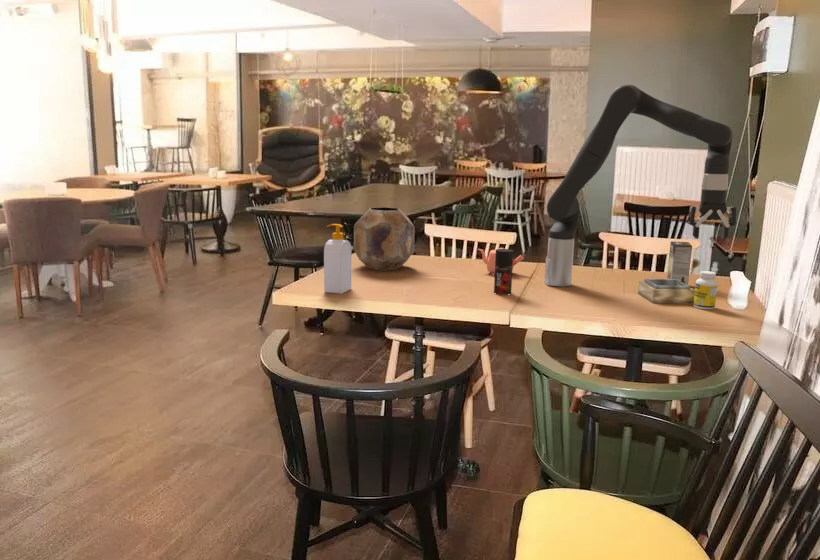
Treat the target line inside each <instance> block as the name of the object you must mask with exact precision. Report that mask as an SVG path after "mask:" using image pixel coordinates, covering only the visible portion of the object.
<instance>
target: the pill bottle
mask: <svg viewBox="0 0 820 560" xmlns="http://www.w3.org/2000/svg"><path fill="white" fill-rule="evenodd" d="M716 275H717V272H715V271H711V270H710V271H709V270H701V271H700V272H699V278H698V279H696V281H695V285H694V286H695V287H694V290H695V294H694V304H693V307H695V308H697V309H699V310H700V309H701V310H713V309H715V307H716V301H717V293H718V287H719V286H718V284H719V283H718V281H717V280H716V279H715V278H716Z"/></svg>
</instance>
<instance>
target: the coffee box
mask: <svg viewBox="0 0 820 560" xmlns="http://www.w3.org/2000/svg"><path fill="white" fill-rule="evenodd" d="M669 244H670V246H669V255H668V265H667V277H666V279H677V280H679V281H681V282H683V283H685V284H687V285H689V278H690V270H691V263H692V262H691V259H692V251H693V245H692V244H691V243H690V242H689V241H670V243H669Z"/></svg>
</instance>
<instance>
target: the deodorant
mask: <svg viewBox="0 0 820 560" xmlns="http://www.w3.org/2000/svg"><path fill="white" fill-rule="evenodd" d="M495 250H496V257H495V275H494V283H493V285H494V286H493V294H494V293H496V294H495V295H497V294H500V295H499V296H509V295H508V294H510V295H511V294H512V288H513V287H512V285H513V270H512V267H513V261H514V250H513V249H510V248H509V249H508V248H504V249H498V248H497V249H495ZM513 268H514V267H513Z"/></svg>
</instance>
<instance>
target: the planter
mask: <svg viewBox="0 0 820 560" xmlns="http://www.w3.org/2000/svg"><path fill="white" fill-rule="evenodd" d="M353 251H354V253H355V256H356V257H357V258H358V260H359V261H360V262H361V263H362V264H363V265H365V267H366V268H367V269H369V270H375V271H383V272H384V271H385V272H386V271H393V270H395V271H396V270H399V268H401V267H402V266H403V265H404V264H406V263H407V261H408V260H410V257H411V256H412V255H413V254H414V253H415V225H414V224H413V222H412V221H411V220H410V218H409V217H408V216H407V215H406V214H405V213H404V212H403V211H402V210H401V209H400V208H397V207H386V206H385V207H370V208H368V210H367V211H366V212H365V213H364V214H363V215H362V216H361V217H360V218H359V219H358V220H357V221H356V222H355V224H354V225H353Z"/></svg>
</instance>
